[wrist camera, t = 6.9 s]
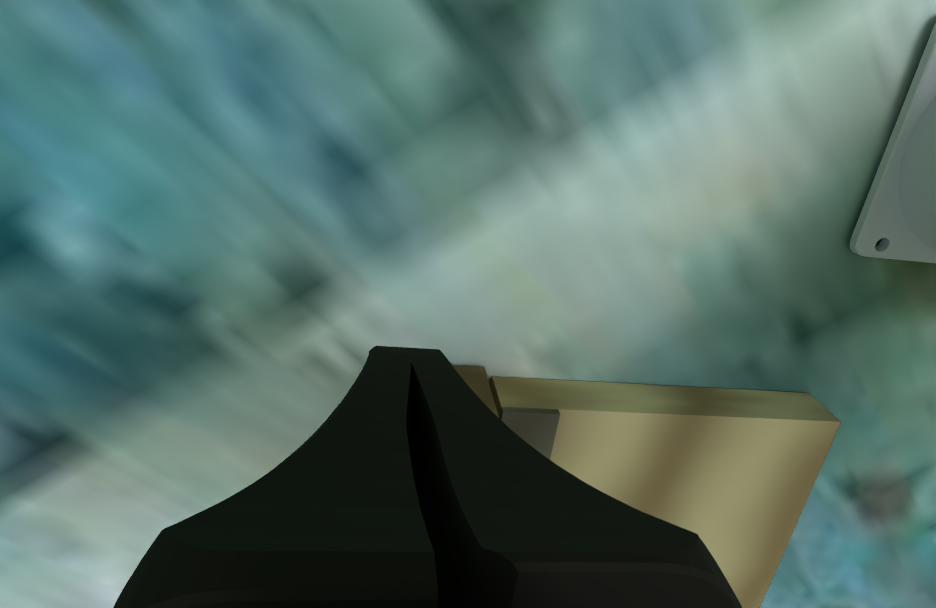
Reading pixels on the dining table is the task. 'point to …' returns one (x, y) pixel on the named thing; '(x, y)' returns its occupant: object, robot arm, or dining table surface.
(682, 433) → the stool top
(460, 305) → the dining table surface
